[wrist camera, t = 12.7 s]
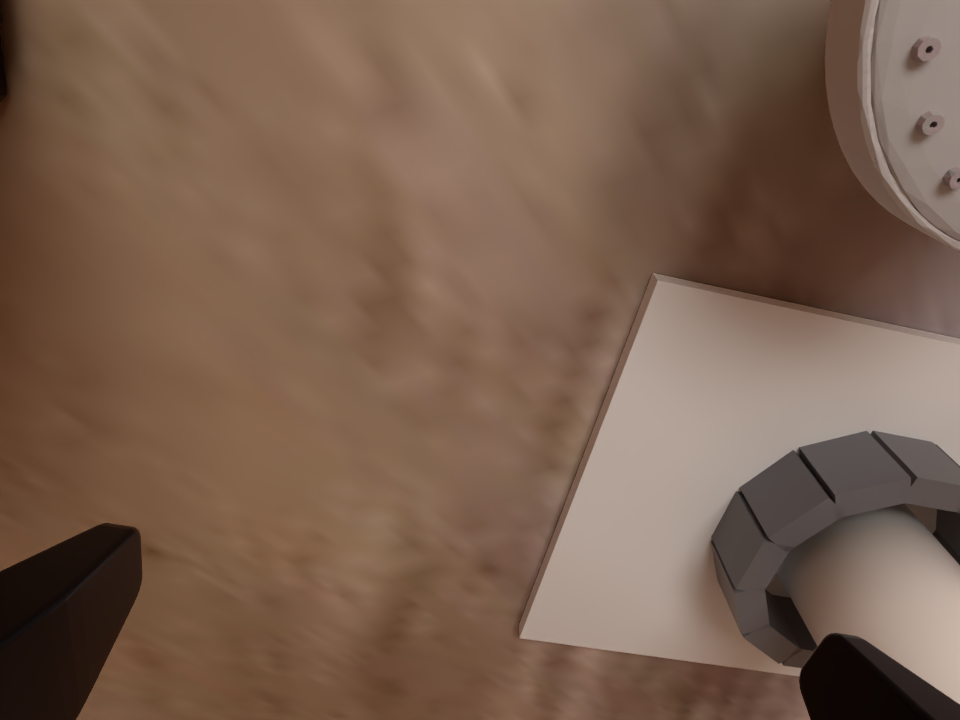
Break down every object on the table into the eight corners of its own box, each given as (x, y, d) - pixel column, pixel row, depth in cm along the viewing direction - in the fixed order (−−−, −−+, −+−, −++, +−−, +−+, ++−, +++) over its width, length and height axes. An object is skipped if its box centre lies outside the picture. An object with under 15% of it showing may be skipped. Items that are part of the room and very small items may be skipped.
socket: (518, 625, 26) (523, 694, 24) (652, 272, 19) (682, 315, 16) (943, 684, 29) (991, 752, 26) (1214, 393, 21) (1320, 447, 19)
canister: (770, 596, 25) (993, 1027, 14) (756, 500, 22) (1012, 934, 12) (908, 565, 24) (1251, 994, 14) (909, 462, 22) (1326, 887, 11)
